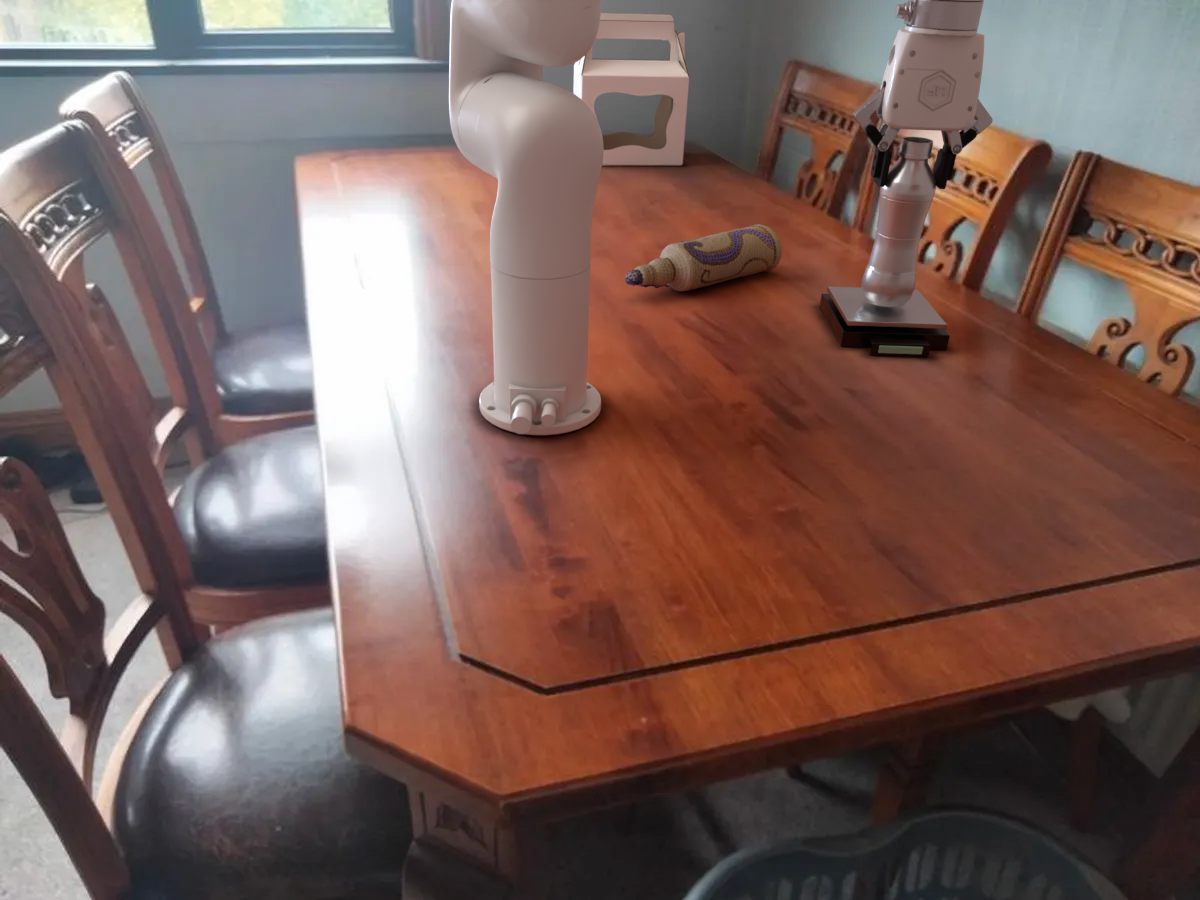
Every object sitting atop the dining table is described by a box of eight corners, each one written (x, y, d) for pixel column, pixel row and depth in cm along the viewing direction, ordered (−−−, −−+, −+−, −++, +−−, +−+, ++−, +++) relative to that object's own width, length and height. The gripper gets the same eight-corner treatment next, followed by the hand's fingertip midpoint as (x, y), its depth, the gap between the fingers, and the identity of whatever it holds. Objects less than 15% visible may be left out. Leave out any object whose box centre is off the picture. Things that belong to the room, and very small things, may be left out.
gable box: (578, 165, 187) (581, 15, 173) (571, 151, 198) (573, 9, 184) (683, 165, 190) (695, 18, 176) (670, 151, 201) (680, 11, 187)
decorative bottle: (745, 261, 138) (750, 217, 134) (780, 276, 132) (787, 231, 129) (607, 292, 124) (609, 244, 121) (640, 310, 119) (644, 261, 116)
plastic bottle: (852, 306, 113) (882, 141, 103) (865, 290, 119) (895, 131, 109) (904, 317, 111) (941, 148, 101) (915, 300, 116) (951, 138, 106)
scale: (953, 359, 109) (959, 334, 107) (845, 355, 109) (849, 330, 107) (915, 310, 122) (920, 288, 121) (819, 307, 122) (823, 284, 120)
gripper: (872, 17, 95) (842, 190, 104) (1036, 24, 95) (992, 196, 104) (855, 11, 101) (829, 174, 110) (1009, 17, 102) (970, 180, 111)
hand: (908, 183), depth 107 cm, fingers closed on plastic bottle, 6 cm apart
